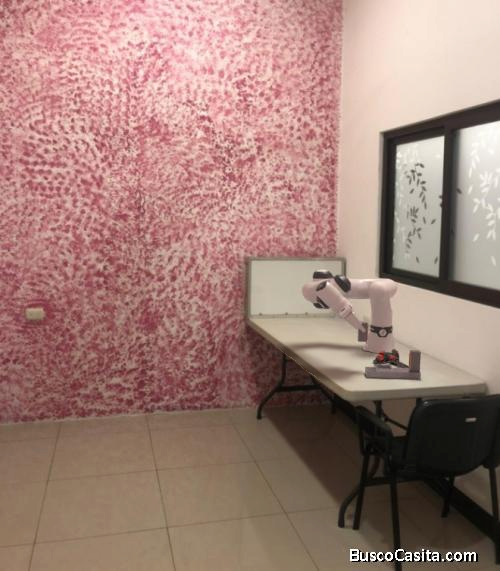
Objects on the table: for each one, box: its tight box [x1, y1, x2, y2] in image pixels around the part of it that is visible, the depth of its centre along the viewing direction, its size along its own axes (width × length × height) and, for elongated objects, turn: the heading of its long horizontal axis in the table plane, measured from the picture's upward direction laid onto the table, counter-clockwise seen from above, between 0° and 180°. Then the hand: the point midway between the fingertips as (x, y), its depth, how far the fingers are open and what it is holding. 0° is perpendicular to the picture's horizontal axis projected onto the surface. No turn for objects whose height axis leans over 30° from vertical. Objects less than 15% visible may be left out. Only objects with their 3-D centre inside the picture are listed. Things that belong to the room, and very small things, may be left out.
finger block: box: [357, 321, 369, 343], centre depth 286 cm, size 4×4×9 cm
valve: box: [372, 349, 409, 368], centre depth 298 cm, size 6×26×15 cm
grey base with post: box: [364, 349, 422, 380], centre depth 276 cm, size 8×24×12 cm, turn 86°
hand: (364, 330), depth 285 cm, fingers closed on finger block, 4 cm apart
